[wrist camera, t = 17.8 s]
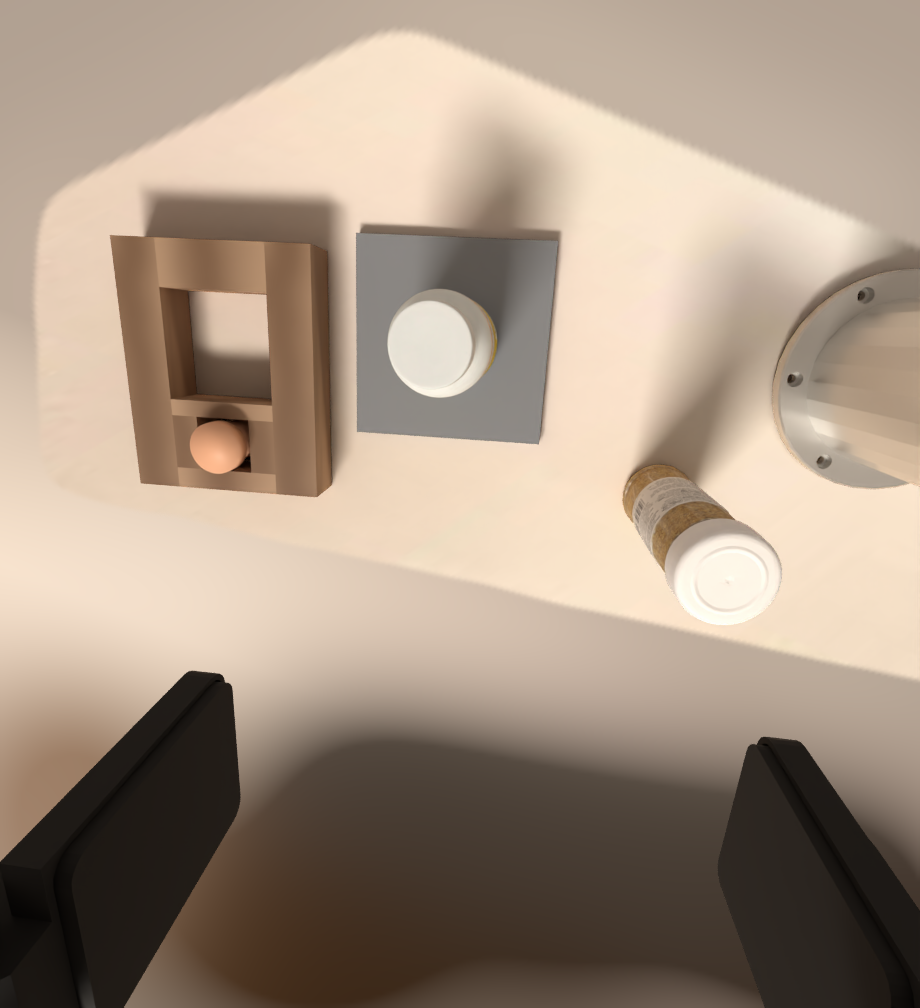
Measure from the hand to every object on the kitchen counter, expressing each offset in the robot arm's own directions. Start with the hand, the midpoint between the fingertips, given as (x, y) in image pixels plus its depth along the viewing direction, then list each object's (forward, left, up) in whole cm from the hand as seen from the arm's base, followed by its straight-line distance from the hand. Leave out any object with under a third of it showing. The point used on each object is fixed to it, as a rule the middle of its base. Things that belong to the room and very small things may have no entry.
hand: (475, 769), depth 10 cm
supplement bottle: (+4, -7, -28) cm, 29 cm away
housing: (+18, -4, -28) cm, 34 cm away
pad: (+4, -7, -28) cm, 29 cm away
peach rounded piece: (+18, 0, -28) cm, 33 cm away
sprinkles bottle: (-10, +2, -28) cm, 30 cm away
